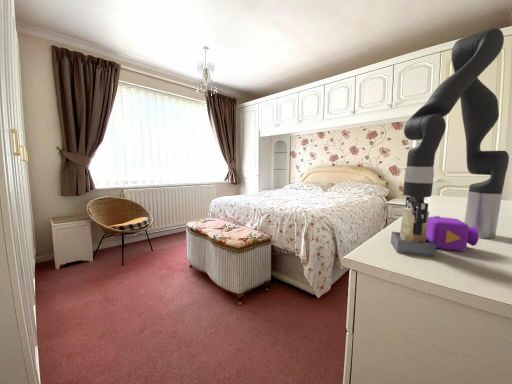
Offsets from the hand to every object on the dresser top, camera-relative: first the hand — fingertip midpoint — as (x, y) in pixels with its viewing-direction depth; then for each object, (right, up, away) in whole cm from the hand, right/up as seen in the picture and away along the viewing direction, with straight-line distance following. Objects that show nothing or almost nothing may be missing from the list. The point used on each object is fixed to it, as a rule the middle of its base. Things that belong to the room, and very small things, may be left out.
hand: (413, 231), depth 75 cm
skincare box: (0, -5, +1) cm, 5 cm away
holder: (0, -6, +1) cm, 6 cm away
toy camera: (+15, -6, +4) cm, 17 cm away
